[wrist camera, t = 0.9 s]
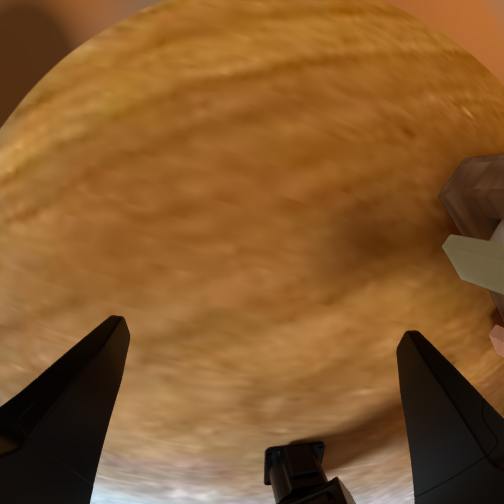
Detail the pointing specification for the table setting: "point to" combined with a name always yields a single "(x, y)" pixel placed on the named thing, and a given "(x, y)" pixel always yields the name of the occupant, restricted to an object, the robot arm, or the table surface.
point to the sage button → (479, 259)
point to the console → (477, 201)
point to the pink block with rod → (498, 339)
